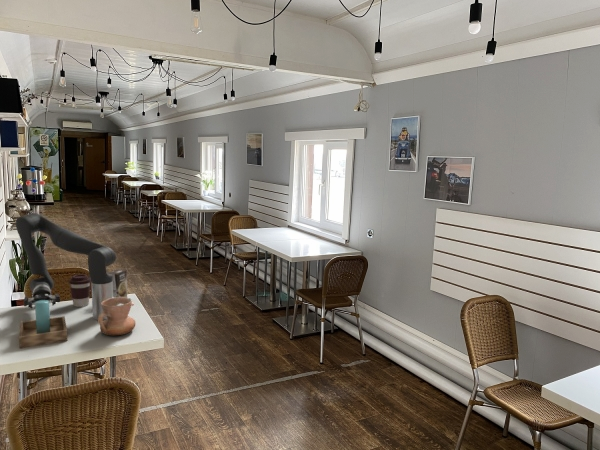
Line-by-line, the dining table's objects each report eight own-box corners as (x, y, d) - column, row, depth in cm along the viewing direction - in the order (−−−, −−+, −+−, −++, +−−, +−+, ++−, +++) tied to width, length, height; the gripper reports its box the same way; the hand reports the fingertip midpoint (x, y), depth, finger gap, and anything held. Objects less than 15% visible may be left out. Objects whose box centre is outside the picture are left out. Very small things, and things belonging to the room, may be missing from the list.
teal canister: (50, 330, 201) (48, 299, 199) (50, 335, 196) (49, 303, 194) (36, 332, 198) (34, 300, 196) (36, 337, 194) (34, 304, 192)
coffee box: (117, 304, 238) (116, 274, 235) (106, 303, 239) (105, 273, 237) (127, 299, 247) (127, 269, 244) (116, 298, 248) (115, 268, 245)
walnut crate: (65, 325, 209) (64, 316, 208) (67, 340, 194) (66, 330, 193) (21, 331, 201) (20, 321, 200) (19, 348, 186) (18, 337, 185)
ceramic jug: (123, 322, 215) (121, 292, 213) (145, 329, 208) (143, 298, 206) (88, 335, 200) (86, 304, 198) (110, 343, 193) (108, 311, 190)
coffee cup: (78, 300, 242) (76, 272, 240) (95, 302, 241) (94, 274, 238) (66, 307, 232) (64, 277, 230) (84, 308, 231) (83, 279, 229)
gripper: (23, 288, 215) (22, 298, 201) (58, 284, 222) (59, 294, 208) (24, 303, 216) (24, 315, 202) (59, 299, 223) (60, 310, 209)
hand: (42, 304), depth 205 cm, fingers open, 8 cm apart
